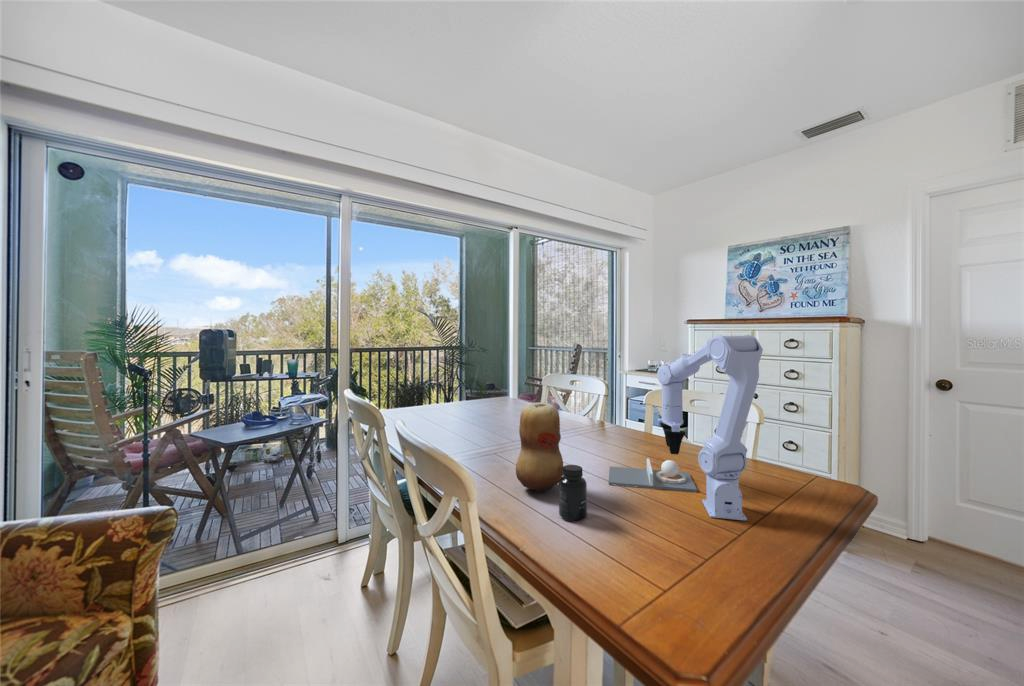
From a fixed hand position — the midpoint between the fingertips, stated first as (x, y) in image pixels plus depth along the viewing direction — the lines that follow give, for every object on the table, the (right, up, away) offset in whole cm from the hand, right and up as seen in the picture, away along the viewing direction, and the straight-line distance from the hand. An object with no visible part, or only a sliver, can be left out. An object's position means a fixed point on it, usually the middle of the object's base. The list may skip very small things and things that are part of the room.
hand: (672, 450), depth 115 cm
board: (-6, -10, +2) cm, 11 cm away
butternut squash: (-40, -10, -5) cm, 42 cm away
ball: (0, -6, +1) cm, 6 cm away
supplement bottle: (-33, -11, -21) cm, 41 cm away
